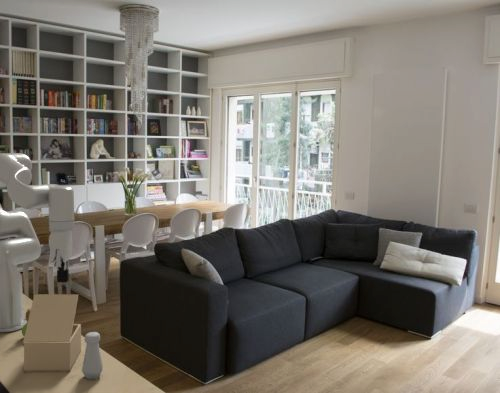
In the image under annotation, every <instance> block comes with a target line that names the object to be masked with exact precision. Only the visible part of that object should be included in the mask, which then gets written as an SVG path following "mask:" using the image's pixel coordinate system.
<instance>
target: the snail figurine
mask: <svg viewBox="0 0 500 393" xmlns="http://www.w3.org/2000/svg"><path fill="white" fill-rule="evenodd" d="M30 311H31V308H28V309H27V310H26V312H25V317H24V318H26V321H27V323H26V324H25V325H24V326H23V328H21V334H22V336H23V337H24V336H25V332H26V328H27V324H28V320H29V316H30Z"/></svg>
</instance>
